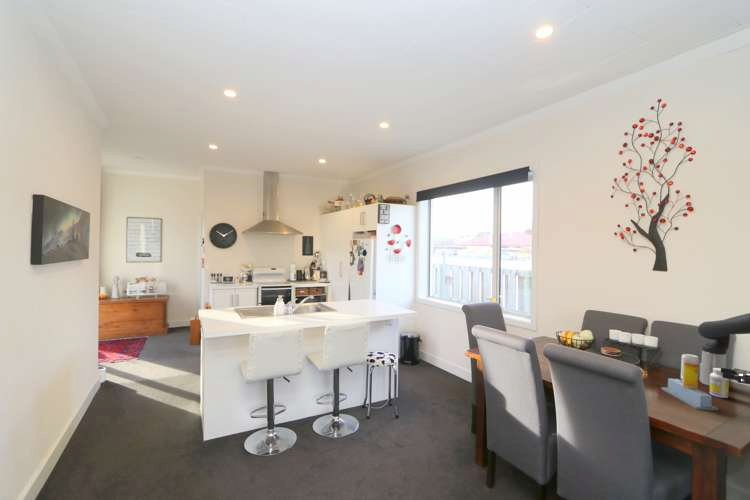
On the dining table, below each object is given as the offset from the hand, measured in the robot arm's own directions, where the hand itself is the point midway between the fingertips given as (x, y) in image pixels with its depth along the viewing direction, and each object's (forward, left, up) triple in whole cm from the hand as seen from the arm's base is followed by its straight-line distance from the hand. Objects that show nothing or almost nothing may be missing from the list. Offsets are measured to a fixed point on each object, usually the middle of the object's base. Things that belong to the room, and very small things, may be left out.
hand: (721, 372), depth 162 cm
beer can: (-6, -9, -10) cm, 15 cm away
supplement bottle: (-13, +10, -16) cm, 23 cm away
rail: (-6, -9, -15) cm, 19 cm away
